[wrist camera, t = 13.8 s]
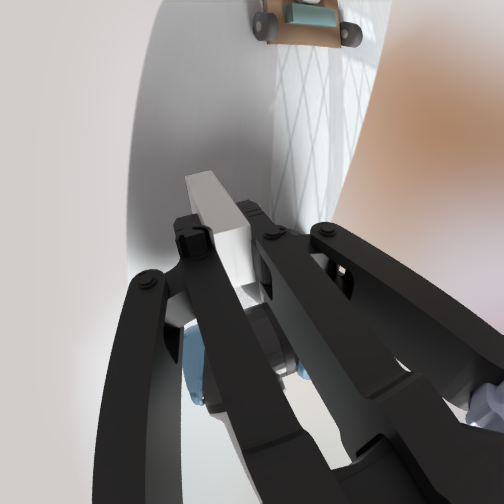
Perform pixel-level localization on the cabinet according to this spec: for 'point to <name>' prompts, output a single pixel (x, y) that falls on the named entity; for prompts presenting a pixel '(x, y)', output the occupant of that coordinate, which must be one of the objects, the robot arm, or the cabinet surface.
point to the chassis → (305, 24)
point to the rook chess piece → (308, 2)
